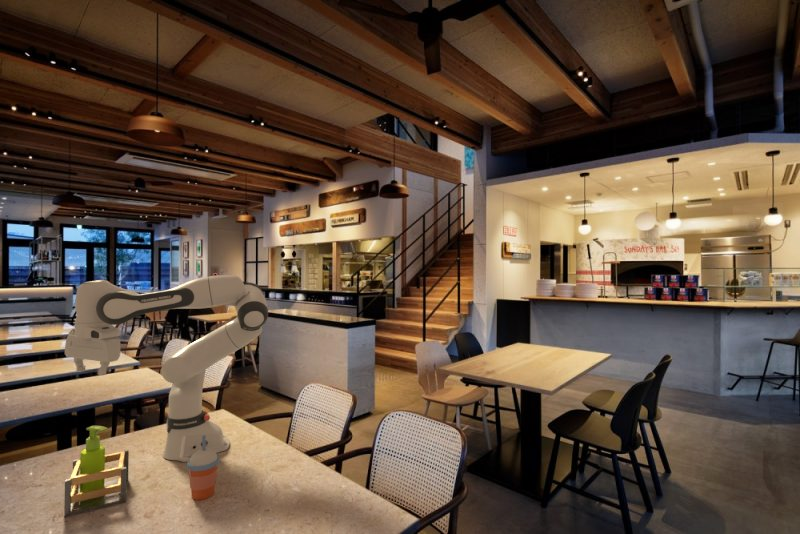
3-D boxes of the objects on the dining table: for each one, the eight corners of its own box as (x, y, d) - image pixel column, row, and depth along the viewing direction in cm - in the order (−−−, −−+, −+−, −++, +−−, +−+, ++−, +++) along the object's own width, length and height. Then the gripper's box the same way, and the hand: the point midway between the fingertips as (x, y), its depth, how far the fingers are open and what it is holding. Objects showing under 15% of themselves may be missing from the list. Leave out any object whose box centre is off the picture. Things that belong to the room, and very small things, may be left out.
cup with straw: (185, 506, 115) (186, 445, 115) (186, 490, 124) (187, 433, 123) (220, 498, 120) (221, 439, 120) (218, 483, 128) (219, 427, 128)
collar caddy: (128, 479, 129) (128, 449, 129) (125, 502, 117) (126, 468, 117) (73, 492, 121) (73, 459, 121) (64, 517, 110) (64, 481, 110)
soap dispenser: (95, 499, 116) (96, 431, 116) (74, 497, 117) (75, 430, 117) (112, 488, 122) (113, 423, 122) (92, 486, 123) (93, 422, 123)
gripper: (59, 329, 128) (58, 371, 128) (105, 334, 121) (104, 379, 122) (79, 326, 134) (79, 367, 134) (124, 331, 128) (123, 373, 128)
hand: (91, 372), depth 128 cm, fingers open, 8 cm apart
